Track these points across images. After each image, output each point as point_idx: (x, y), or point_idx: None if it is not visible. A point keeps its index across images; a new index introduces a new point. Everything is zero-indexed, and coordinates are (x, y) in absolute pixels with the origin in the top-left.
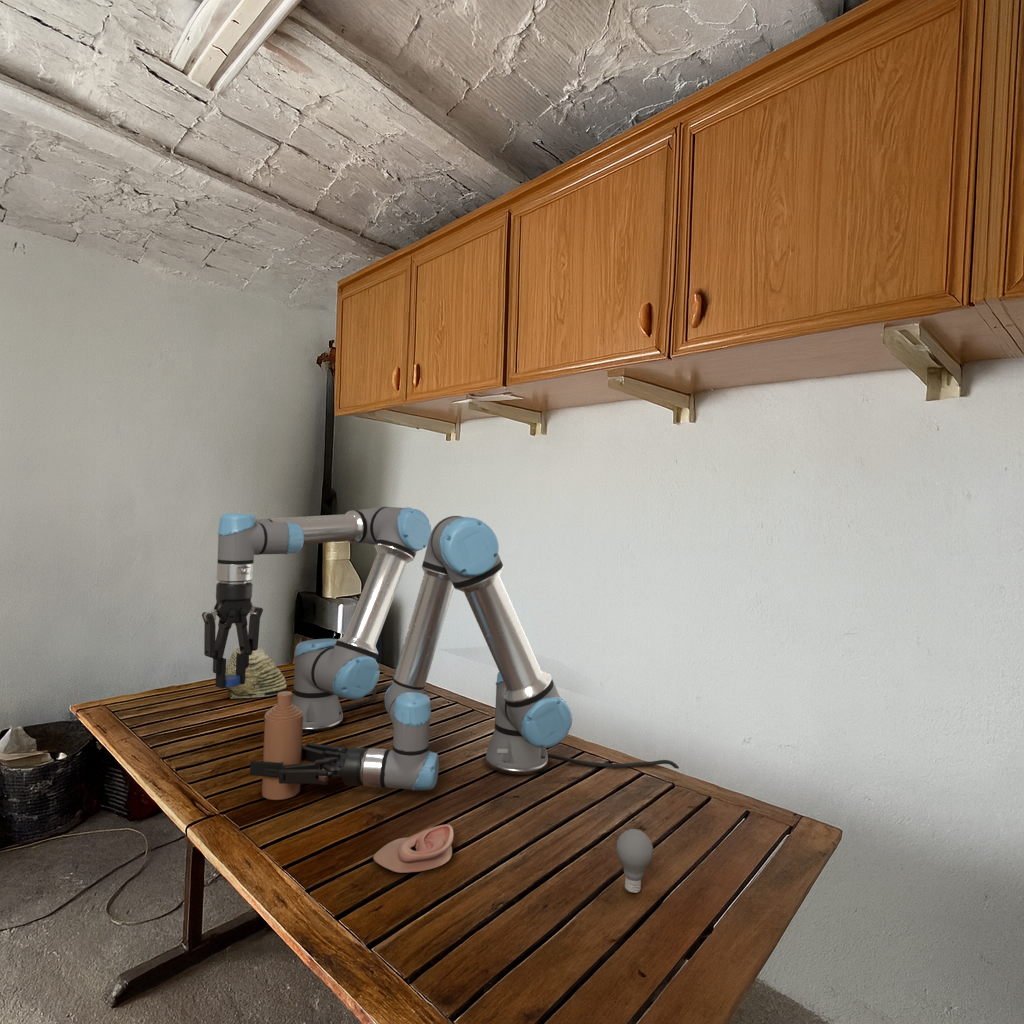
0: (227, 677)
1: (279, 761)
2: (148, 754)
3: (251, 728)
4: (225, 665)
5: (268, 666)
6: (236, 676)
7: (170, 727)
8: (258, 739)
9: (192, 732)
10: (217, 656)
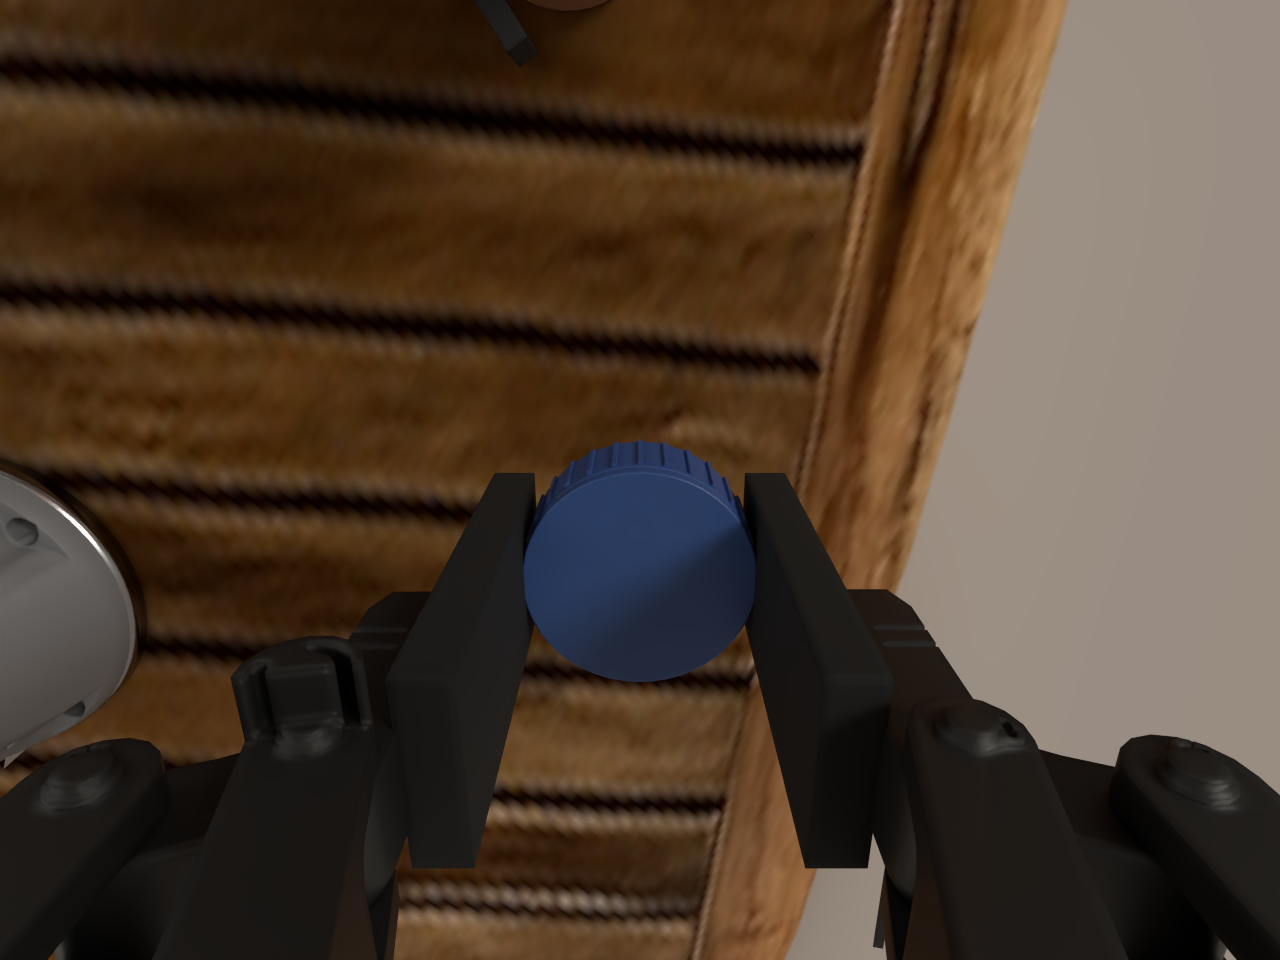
0: (680, 586)
1: None
2: (764, 754)
3: None
4: (806, 612)
5: None
6: (575, 555)
7: (565, 934)
8: (332, 593)
9: (524, 842)
10: (1032, 753)
